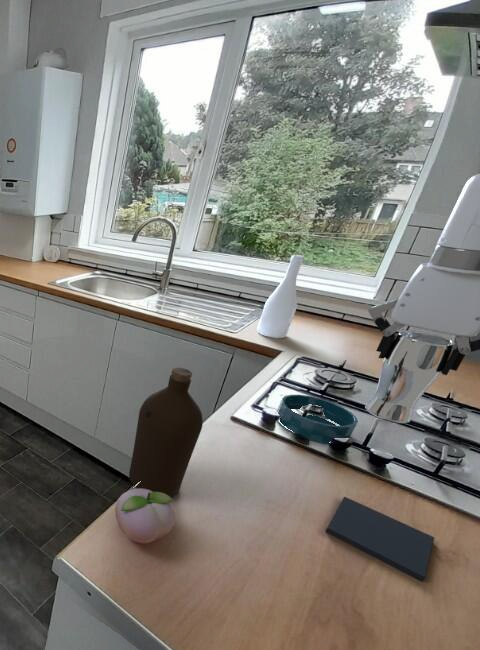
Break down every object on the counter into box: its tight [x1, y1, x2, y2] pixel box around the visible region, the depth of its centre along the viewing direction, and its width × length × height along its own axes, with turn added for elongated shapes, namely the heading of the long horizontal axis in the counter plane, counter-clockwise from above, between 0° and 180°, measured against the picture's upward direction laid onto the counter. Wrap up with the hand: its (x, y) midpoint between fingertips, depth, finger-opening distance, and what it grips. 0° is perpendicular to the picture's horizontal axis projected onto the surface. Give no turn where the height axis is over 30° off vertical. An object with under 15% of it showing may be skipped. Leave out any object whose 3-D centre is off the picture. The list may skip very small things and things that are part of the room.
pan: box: [276, 394, 359, 445], centre depth 99 cm, size 14×14×5 cm
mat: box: [324, 496, 435, 582], centre depth 70 cm, size 12×12×1 cm
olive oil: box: [128, 367, 204, 498], centre depth 77 cm, size 11×11×25 cm
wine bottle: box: [256, 254, 305, 339], centre depth 150 cm, size 10×10×30 cm
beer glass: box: [364, 329, 456, 424], centre depth 71 cm, size 7×7×15 cm
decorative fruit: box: [114, 488, 176, 544], centre depth 68 cm, size 9×8×10 cm
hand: (412, 363), depth 70 cm, fingers closed on beer glass, 7 cm apart
